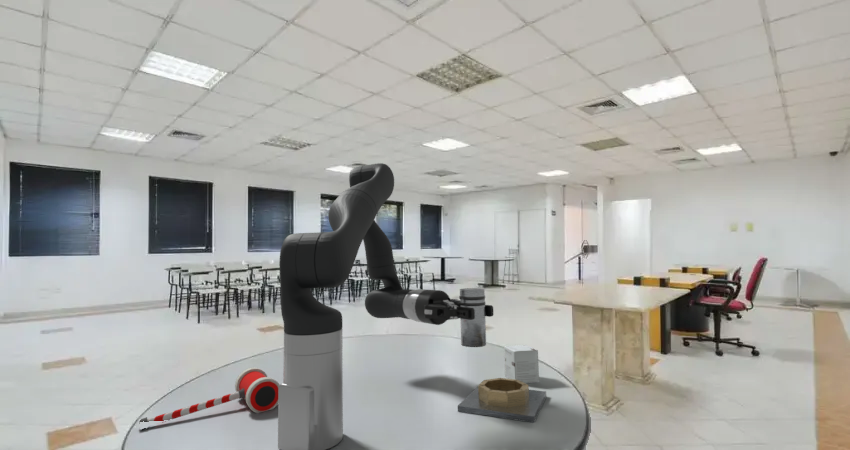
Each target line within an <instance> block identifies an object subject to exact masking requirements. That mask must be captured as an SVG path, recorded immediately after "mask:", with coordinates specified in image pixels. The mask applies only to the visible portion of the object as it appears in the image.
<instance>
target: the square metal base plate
mask: <svg viewBox="0 0 850 450" xmlns="http://www.w3.org/2000/svg"><path fill="white" fill-rule="evenodd" d="M545 398H547V391H544V390H538V389H537V390H536V389H535V390H534V389H530V388H529V383H523V382H521V381H519V380H516V379H508V378H506V377H503V378H502V377H498V378H497V377H496V378H489V379H484V380H483V381H481V382H480V383H479V384H478V386H477V387H475V389H474V390H473V391H471V392H470V393H469V394H468V395H467V396H466V397H465V398H464V399H463V400H462V401H461V402H460V403H459V404H458V405H457V412H459V413H460V412H461V413H465V414H466V413H467V414H473V415H480V416H488V417H492V418H493V417H494V418H500V419H507V420H508V419H509V420H515V421H521V422H527V423H536V419H538V418H537V417H538V415H539V413H540V412H541V409H542V407H543V405H544V402H545V401H546V399H545Z"/></svg>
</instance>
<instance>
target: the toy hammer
mask: <svg viewBox="0 0 850 450" xmlns="http://www.w3.org/2000/svg"><path fill="white" fill-rule="evenodd" d="M280 384H281V383H279V382H278V381H277V380H275V379H274V378H273V377H268V375H267V373H266V372H265V371H263V369H261V368H259V367H254V366H253V367H249V368H246V369H244V370H243V371H242V372H240V374H239V375H238V376H237V378H236V379H235V384H234V389H235V392H232V393H228V394H225V395H222V396H218V397H216V398H212V399H208V400H206V401H201V402H199V403H196V404H192V405H190V406H186V407H183V408H180V409H176V410H173V411H169V412H166V413H162V414H159V415H156V416H153V417H149V418H148V417H143V418H140V419H141V420H140V421H139V420H138V421H139V423H140V422H143V421H144V422H149V421H164V420H168V421H171V420H170V419H172V420H174V419H177V418H180V417H181V418H182V417H184V416H187V415H189V414H193V413H196V412H200V411H203V410H206V409H209V408H213V407H215V406H216V407H217V406H220V405H222V404H225V403H226V404H227V403H229V402H232V401H235V400H238V399H239V400H240V399H243V400H244V401H245V402H246V405H247V407H248V408H249V409H250V410H251V411H252V412H254V413H256V414H260V413H264V412H269V411H271V410H274V409H275V408H276V407H277V405H278V388H279V385H280Z"/></svg>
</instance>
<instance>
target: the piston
mask: <svg viewBox="0 0 850 450" xmlns="http://www.w3.org/2000/svg"><path fill="white" fill-rule="evenodd" d="M485 290H486V289H485V288H480V287H474V288H473V287H469V288H468V287H467V288H459V299H458V300H460V307H468V308H474V310H475V318H474V319H473V320H468V319H461V318H459V319H460V340H461V341H460V344H461V346H462V347H466V348H467V347H468V348H482V347H486V346H487V329H486V328H487V327H486V326H487V325H486V323H487V321H486V316H485V305H486V300H485V299H486V293H485Z"/></svg>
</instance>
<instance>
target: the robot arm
mask: <svg viewBox="0 0 850 450" xmlns="http://www.w3.org/2000/svg"><path fill="white" fill-rule="evenodd" d="M348 176H349V178H348V183H349V187H348V188H346V189H345V190H344V191H342V192H341V193H340V194H339V195H338V196H337V198H336V199H335V200H334V201H333V202H332V204H331V205H330V207H329V210H328V214H327V215H328V216H327V217H328V222H329V226H330V227H331V229H332V231H326V232H320V231H319V232H297V233H291V234H289V235H287V236H286V237H285V238H284V240H283V242H282V244H281V247H280V253H279V263H278V264H279V284H280V286H279V287H280V308H281V316H282V321H283V322H282V323H283V377H282V378H283V382H282V383H279V384H280V385H279V388H278V404H277V405H278V407H277V408H278V409H277V413H278V414H277V449H278V450H328V449H331V448H333V447H335V446H337V445H339V443H340V442H342V440H343V438H344V420H343V419H344V414H343V413H344V409H343V408H344V405H343V404H344V403H343V401H344V400H343V399H344V398H343V397H344V395H343V392H344V391H343V387H344V386H343V385H344V383H343V380H344V379H343V377H344V376H343V373H344V372H343V369H344V368H343V366H344V364H343V360H344V359H343V314H342V313H341V311H340V310H338V309H336V308H333V307H330V306H328V305H326V304H324V303H322V302H320V301H319V300H318V299H316V298H315V297H314V294H313V293H312V289H332V288H337V287H340V286H342V285H344V283H345V282H346V281H347V280H348V278H349V276H350V274H351V272H352V269H353V266H354V264H355V262H356V259H357V255H358V253H359V250H360V247H361V244H362V242H363V245H364V250H365V251H364V252H365V257H366V258H365V259H366V267H367V274H368V277H369V279H371V280H374V281H377V280H378V281H381V282H382V283H383V285H384V287H382V288H377V289H373V290H371V291H369V292H368V293H367V295H366V296H365V299H364V307H365V310H366V312H367V313H368V315H370V316H371V317H373V318H377V319H394V318H401V319H405V320H406V319H407V320H412V321H415V322H418V323H424V324H430V325H437V326H440V325H443V324H444V323H446V322H447V321H450V320H459V319H460V318H461V319H468V320H473V319H474V318H475V310H474V308H468V307H460V299H458V298H450V296H449V295H448V293H446V292H445V291H444V290H437V289H423V288H422V289H421V288H419V289H410V288H409V289H407V288H406V289H403V286H402V284H401V282H400V279H399V277H398V274H397V271H396V267H395V260H394V253H393V247H392V244H391V242H390V239H389V237H388V236H387V235H386V233H385V232H384V231H383V229H382V228H381V227H380V226H379V224H378V223H377V222H376V220H375V219H376V216H377V215H378V212H379V211H380V209H381V207H382V206H383V205H384V204H385V202H387V200H388V199H390V198H391V195H393V191H394V188H395V176H394V172H393V170H392V169H391V167H390V166H389V165H388V164H386V163H383V162H382V163H381V162H380V163H379V162H378V163H372V164H366V165H360V166H356V167H353V168H351V170H350V172H349V175H348ZM493 316H494V306H493V305H489V304H485V317H489V318H490V317H493ZM461 319H460V320H461Z"/></svg>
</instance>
